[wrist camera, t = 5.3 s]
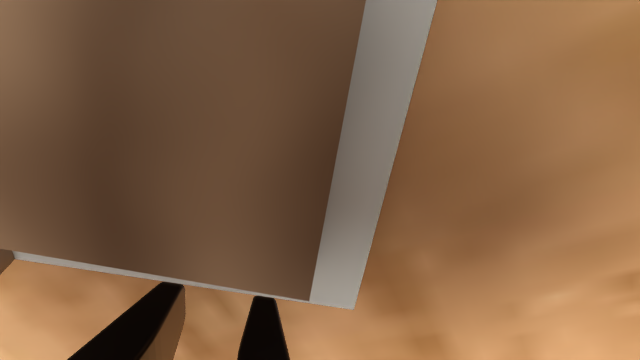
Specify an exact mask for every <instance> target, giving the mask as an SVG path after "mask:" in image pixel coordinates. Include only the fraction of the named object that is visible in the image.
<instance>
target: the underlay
mask: <svg viewBox="0 0 640 360" xmlns="http://www.w3.org/2000/svg"><path fill="white" fill-rule="evenodd" d="M436 4H437V0H366V3H365V8H364V13H363V19H362V24H361V29H360V35H359V40H358V45H357V50H356V56H355V61H354V66H353V72H352V77H351V82H350V88H349V93H348V98H347V103H346V109H345V114H344V119H343V125H342V130H341V135H340V141H339V146H338V151H337V156H336V162H335V167H334V172H333V178H332V183H331V188H330V194H329V199H328V204H327V209H326V215H325V220H324V225H323V231H322V236H321V241H320V247H319V252H318V257H317V262H316V268H315V273H314V278H313V284H312V289H311V294H310V299H309V301H304V300H298V299H293V298H287V297H281V296H275V295H269V294H263V293H257V292H252V291H246V290H240V289H234V288H228V287H222V286H216V285H211V284H205V283H199V282H193V281H187V280H181V279H175V278H170V277H164V276H158V275H152V274H146V273H140V272H134V271H128V270H123V269H117V268H111V267H105V266H99V265H93V264H87V263H82V262H76V261H70V260H64V259H58V258H52V257H46V256H41V255H35V254H29V253H23V252H17V251H13V255H14V258H15V259H18V260H25V261H31V262H38V263H45V264H51V265H58V266H64V267H71V268H78V269H84V270H91V271H98V272H104V273H111V274H118V275H124V276H131V277H138V278H144V279H151V280H158V281H164V282H172V283H178V284H184V285H191V286H198V287H204V288H211V289H218V290H224V291H231V292H238V293H244V294H251V295H258V296H264V297H271V298H278V299H284V300H291V301H297V302H304V303H311V304H317V305H324V306H331V307H337V308H344V309H351V310H354V307H355V304H356V300H357V296H358V292H359V289H360V285H361V281H362V278H363V274H364V270H365V267H366V263H367V259H368V255H369V252H370V248H371V244H372V241H373V237H374V233H375V230H376V226H377V222H378V218H379V215H380V211H381V207H382V204H383V200H384V196H385V193H386V189H387V185H388V181H389V178H390V174H391V170H392V167H393V163H394V159H395V156H396V152H397V148H398V144H399V141H400V137H401V133H402V130H403V126H404V122H405V119H406V115H407V111H408V107H409V104H410V100H411V96H412V93H413V89H414V85H415V82H416V78H417V74H418V70H419V67H420V63H421V59H422V56H423V52H424V48H425V45H426V41H427V37H428V33H429V30H430V26H431V22H432V19H433V15H434V11H435V8H436Z"/></svg>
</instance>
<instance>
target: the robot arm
mask: <svg viewBox="0 0 640 360" xmlns="http://www.w3.org/2000/svg"><path fill="white" fill-rule="evenodd" d="M184 321H185V288H184V286H183V285H182V284H178V283H172V282H162V283H160V284H158V285H157V286H156V287H155V288H153V289H152V290H151V291H150V292H149V293H147V294H146V295H145V296H144V297H143V298H141V299H140V300H139V301H138V302H136V303H135V304H134V305H133V306H132V307H130V308H129V309H128V310H127V311H126V312H124V313H123V314H122V315H121V316H119V317H118V318H117V319H116V320H115V321H113V322H112V323H111V324H110V325H109V326H107V327H106V328H105V329H104V330H102V331H101V332H100V333H99V334H98V335H96V336H95V337H94V338H93V339H92V340H90V341H89V342H88V343H87V344H85V345H84V346H83V347H82V348H81V349H79V350H78V351H77V352H76V353H75V354H73V355H72V356H71V357H70V358H68V359H67V360H173V358H174V355H175V352H176V348H177V345H178V342H179V338H180V335H181V332H182V328H183V325H184ZM237 360H290V357H289V353H288V349H287V345H286V341H285V336H284V332H283V328H282V324H281V320H280V316H279V312H278V307H277V303H276V300H275V299H274V298H271V297H264V296H255V297H254V298H253V301H252V304H251V308H250V311H249V315H248V318H247V322H246V325H245V329H244V332H243V336H242V339H241V343H240V347H239V352H238V358H237Z"/></svg>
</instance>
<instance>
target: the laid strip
mask: <svg viewBox="0 0 640 360" xmlns="http://www.w3.org/2000/svg"><path fill="white" fill-rule="evenodd" d="M14 259H15V258H14V255H13V251H11V250H5V249H0V274H1V273H2V272H3V271H4V270H5V269H6V268H7V267H8V266H9V265H10V264H11V263H12V261H13V260H14Z"/></svg>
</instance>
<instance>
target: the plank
mask: <svg viewBox="0 0 640 360" xmlns="http://www.w3.org/2000/svg"><path fill="white" fill-rule="evenodd" d="M365 3H366V0H0V249H5V250H11V251H17V252H23V253H29V254H35V255H41V256H46V257H52V258H58V259H64V260H70V261H76V262H82V263H87V264H93V265H99V266H105V267H111V268H117V269H123V270H128V271H134V272H140V273H146V274H152V275H158V276H164V277H170V278H175V279H181V280H187V281H193V282H199V283H205V284H211V285H216V286H222V287H228V288H234V289H240V290H246V291H252V292H257V293H263V294H269V295H275V296H281V297H287V298H293V299H298V300H304V301H309V299H310V294H311V289H312V284H313V278H314V273H315V268H316V262H317V257H318V252H319V247H320V241H321V236H322V231H323V225H324V220H325V215H326V209H327V204H328V199H329V194H330V188H331V183H332V178H333V172H334V167H335V162H336V156H337V151H338V146H339V141H340V135H341V130H342V125H343V119H344V114H345V109H346V103H347V98H348V93H349V88H350V82H351V77H352V72H353V66H354V61H355V56H356V50H357V45H358V40H359V35H360V29H361V24H362V19H363V13H364V8H365Z"/></svg>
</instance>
